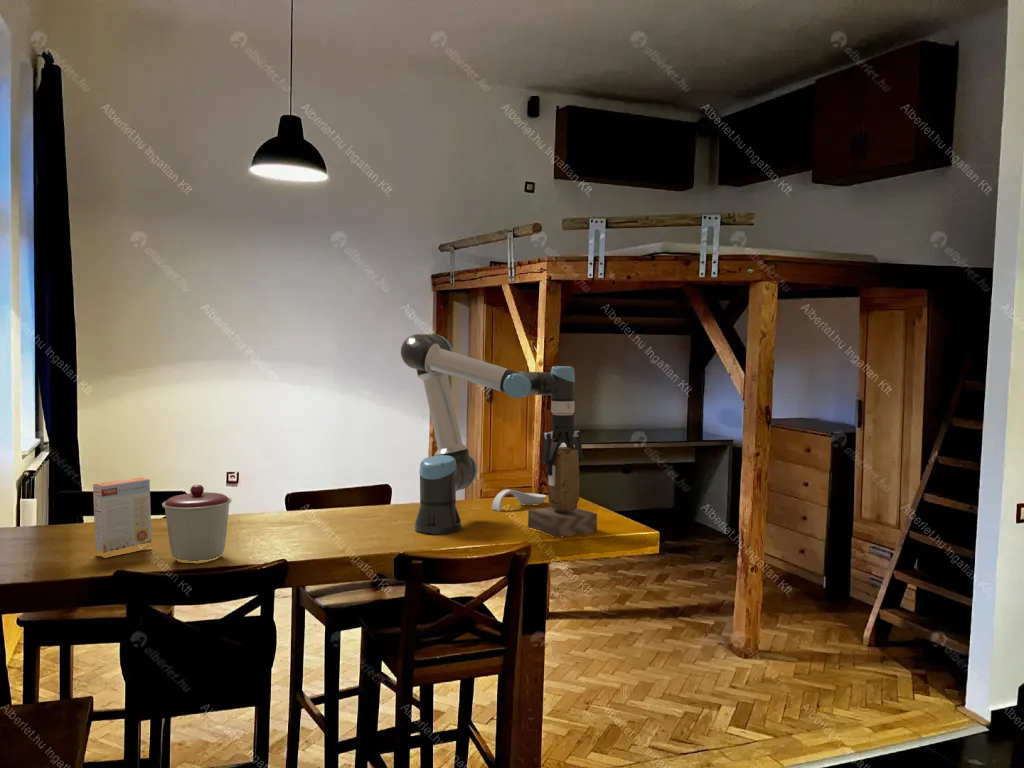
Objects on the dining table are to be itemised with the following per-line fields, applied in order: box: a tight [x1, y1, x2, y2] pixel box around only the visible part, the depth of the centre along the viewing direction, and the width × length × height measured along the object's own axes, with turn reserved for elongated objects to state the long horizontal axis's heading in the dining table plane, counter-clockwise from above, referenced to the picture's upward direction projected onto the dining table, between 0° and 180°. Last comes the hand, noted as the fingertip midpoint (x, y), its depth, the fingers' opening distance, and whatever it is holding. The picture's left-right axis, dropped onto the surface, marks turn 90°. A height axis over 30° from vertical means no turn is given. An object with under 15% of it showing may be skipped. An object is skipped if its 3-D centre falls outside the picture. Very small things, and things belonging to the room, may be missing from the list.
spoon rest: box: [491, 488, 547, 512], centre depth 301 cm, size 24×12×7 cm, turn 133°
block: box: [547, 446, 580, 511], centre depth 262 cm, size 11×8×20 cm
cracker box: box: [92, 477, 152, 553], centre depth 233 cm, size 14×6×21 cm, turn 141°
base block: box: [527, 506, 598, 538], centre depth 263 cm, size 16×16×6 cm
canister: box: [161, 484, 232, 561], centre depth 226 cm, size 18×18×21 cm
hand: (562, 484), depth 262 cm, fingers closed on block, 7 cm apart
